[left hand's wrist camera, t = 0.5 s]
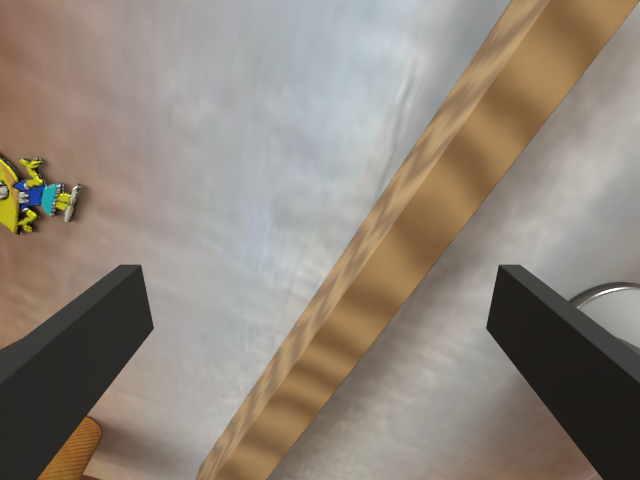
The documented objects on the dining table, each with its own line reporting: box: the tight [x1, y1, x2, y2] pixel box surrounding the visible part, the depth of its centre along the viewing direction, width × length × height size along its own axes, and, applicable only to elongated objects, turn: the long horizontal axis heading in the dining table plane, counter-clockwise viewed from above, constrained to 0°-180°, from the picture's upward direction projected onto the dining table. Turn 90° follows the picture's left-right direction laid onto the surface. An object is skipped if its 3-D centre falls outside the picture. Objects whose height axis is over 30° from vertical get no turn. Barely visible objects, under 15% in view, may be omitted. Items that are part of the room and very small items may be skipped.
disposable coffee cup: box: [37, 417, 102, 480], centre depth 44 cm, size 10×10×12 cm
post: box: [196, 0, 640, 480], centre depth 38 cm, size 75×6×8 cm, turn 149°
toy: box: [0, 155, 82, 236], centre depth 37 cm, size 10×1×15 cm
